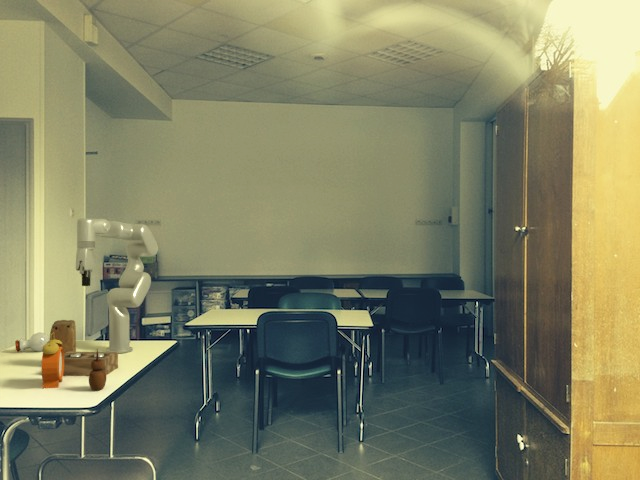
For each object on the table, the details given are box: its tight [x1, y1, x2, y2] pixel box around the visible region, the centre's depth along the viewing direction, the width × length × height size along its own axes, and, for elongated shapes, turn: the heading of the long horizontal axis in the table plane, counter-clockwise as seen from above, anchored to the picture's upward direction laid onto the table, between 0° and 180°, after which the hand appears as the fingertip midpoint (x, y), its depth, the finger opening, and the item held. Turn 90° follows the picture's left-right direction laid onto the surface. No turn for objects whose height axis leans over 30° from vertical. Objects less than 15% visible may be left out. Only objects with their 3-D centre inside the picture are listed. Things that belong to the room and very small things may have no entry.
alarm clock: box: [41, 332, 64, 390], centre depth 212 cm, size 13×6×20 cm, turn 17°
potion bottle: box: [14, 332, 50, 353], centre depth 271 cm, size 9×10×15 cm
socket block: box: [63, 351, 119, 377], centre depth 232 cm, size 14×22×7 cm, turn 89°
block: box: [49, 319, 77, 353], centre depth 243 cm, size 11×8×20 cm
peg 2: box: [94, 353, 104, 357], centre depth 231 cm, size 4×4×7 cm
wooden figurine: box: [88, 348, 107, 391], centre depth 206 cm, size 7×6×15 cm
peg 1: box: [70, 353, 81, 357], centre depth 231 cm, size 4×4×7 cm
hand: (86, 285), depth 248 cm, fingers closed
